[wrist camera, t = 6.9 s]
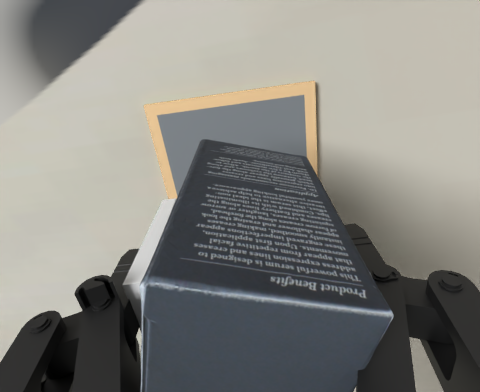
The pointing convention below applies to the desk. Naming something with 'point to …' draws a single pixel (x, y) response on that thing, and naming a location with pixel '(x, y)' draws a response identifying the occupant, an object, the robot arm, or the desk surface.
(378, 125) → the desk surface
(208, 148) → the box
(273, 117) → the mat
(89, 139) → the desk surface
